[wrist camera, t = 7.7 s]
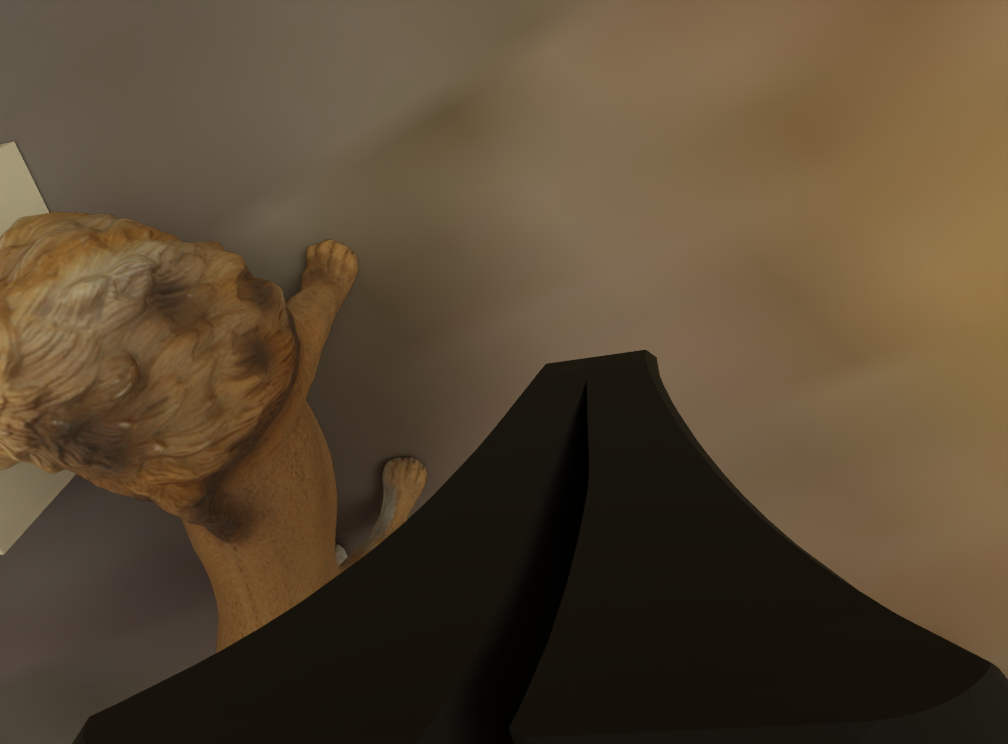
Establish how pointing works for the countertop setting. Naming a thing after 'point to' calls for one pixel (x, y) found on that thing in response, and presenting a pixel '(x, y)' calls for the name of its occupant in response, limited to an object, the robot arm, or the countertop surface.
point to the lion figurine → (185, 397)
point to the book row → (24, 487)
